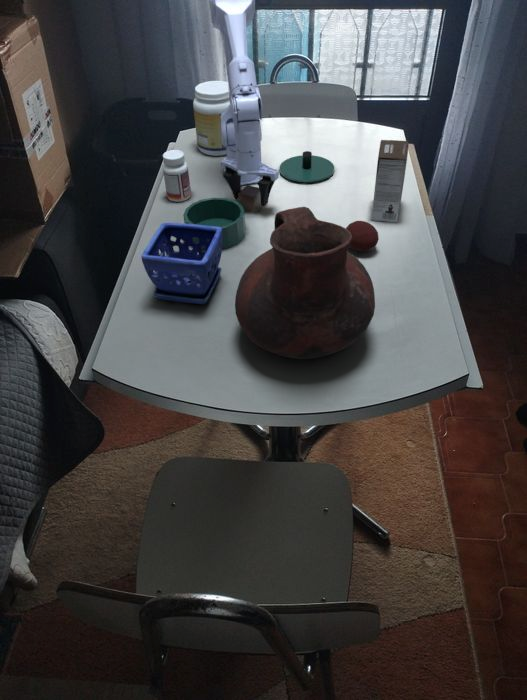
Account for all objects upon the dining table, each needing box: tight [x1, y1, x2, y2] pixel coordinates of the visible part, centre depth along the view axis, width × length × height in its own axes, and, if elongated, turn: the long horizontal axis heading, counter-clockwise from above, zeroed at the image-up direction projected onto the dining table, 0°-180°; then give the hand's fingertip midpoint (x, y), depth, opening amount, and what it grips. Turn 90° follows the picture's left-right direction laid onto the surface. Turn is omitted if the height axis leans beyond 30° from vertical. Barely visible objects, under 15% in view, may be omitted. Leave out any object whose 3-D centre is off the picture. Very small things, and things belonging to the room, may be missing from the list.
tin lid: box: [278, 150, 335, 183], centre depth 158 cm, size 15×15×5 cm
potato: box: [346, 220, 380, 252], centre depth 131 cm, size 7×8×6 cm
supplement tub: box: [192, 80, 233, 157], centre depth 166 cm, size 12×12×17 cm
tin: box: [183, 197, 247, 251], centre depth 137 cm, size 14×14×6 cm
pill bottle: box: [162, 149, 192, 203], centre depth 148 cm, size 6×6×11 cm
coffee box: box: [371, 139, 410, 223], centre depth 138 cm, size 9×6×16 cm
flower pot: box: [141, 222, 223, 305], centre depth 120 cm, size 13×13×12 cm
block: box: [238, 184, 263, 214], centre depth 146 cm, size 4×4×4 cm
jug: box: [234, 206, 376, 360], centre depth 104 cm, size 25×25×25 cm
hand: (250, 200), depth 146 cm, fingers open, 7 cm apart
